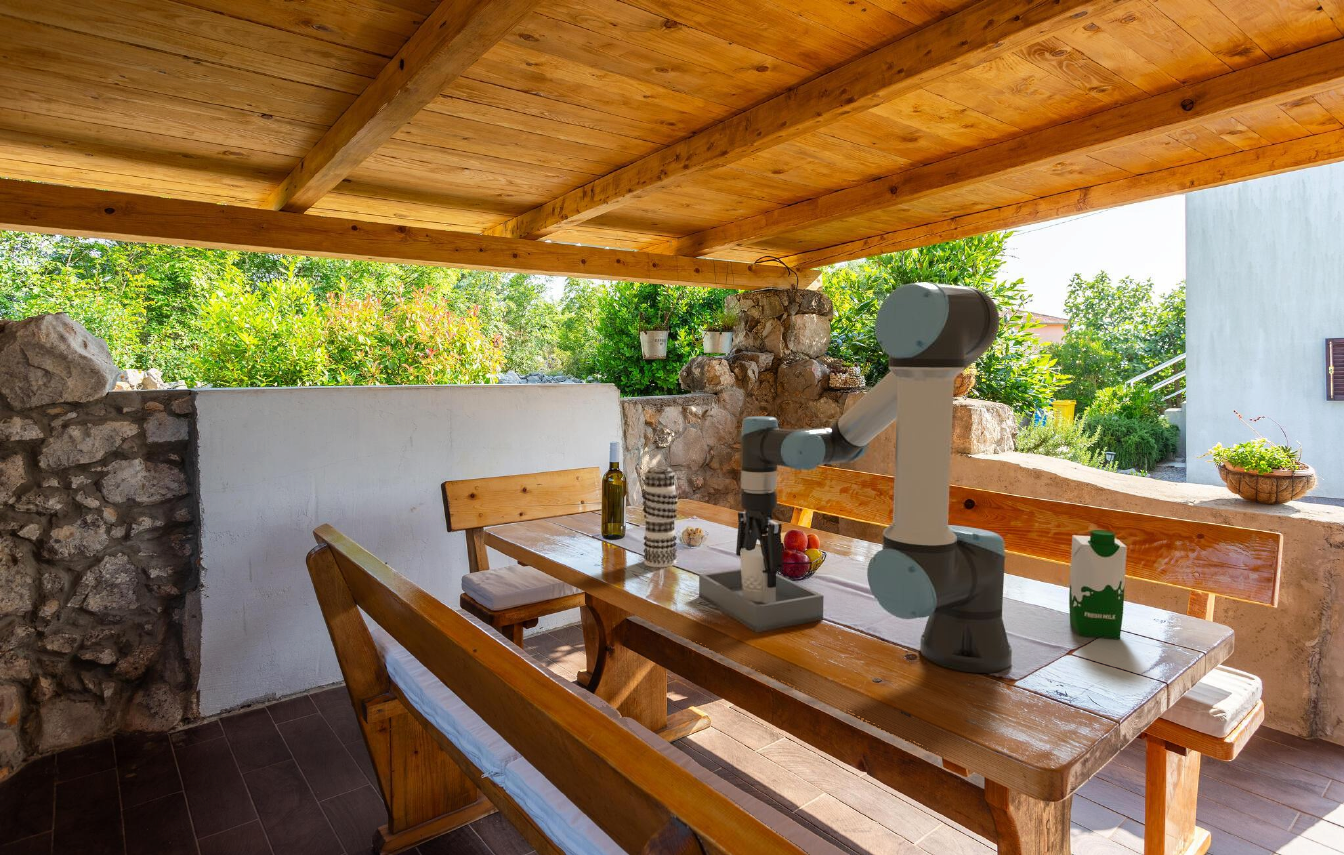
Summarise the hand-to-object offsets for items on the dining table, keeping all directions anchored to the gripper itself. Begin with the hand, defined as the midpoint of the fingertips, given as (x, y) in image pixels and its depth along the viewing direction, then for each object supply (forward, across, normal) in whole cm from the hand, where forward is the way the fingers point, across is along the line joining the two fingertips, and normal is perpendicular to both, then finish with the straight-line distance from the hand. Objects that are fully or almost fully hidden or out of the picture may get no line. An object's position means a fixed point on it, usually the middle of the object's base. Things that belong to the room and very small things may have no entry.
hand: (758, 595), depth 157 cm
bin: (+3, 0, 0) cm, 3 cm away
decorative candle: (+3, +41, +4) cm, 41 cm away
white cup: (0, 0, 0) cm, 0 cm away
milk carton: (+3, -40, -52) cm, 65 cm away
